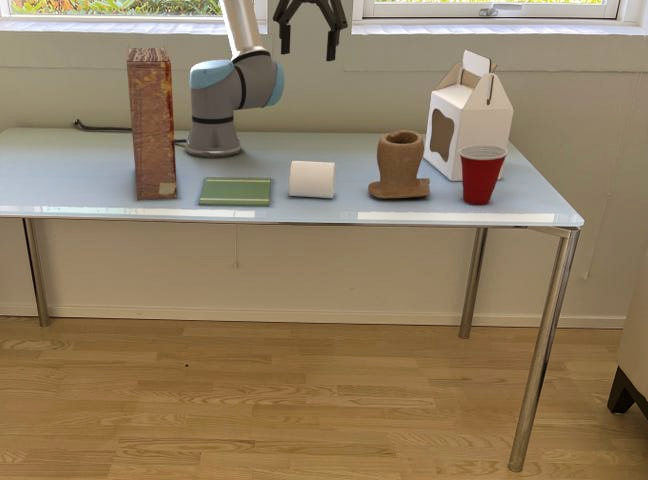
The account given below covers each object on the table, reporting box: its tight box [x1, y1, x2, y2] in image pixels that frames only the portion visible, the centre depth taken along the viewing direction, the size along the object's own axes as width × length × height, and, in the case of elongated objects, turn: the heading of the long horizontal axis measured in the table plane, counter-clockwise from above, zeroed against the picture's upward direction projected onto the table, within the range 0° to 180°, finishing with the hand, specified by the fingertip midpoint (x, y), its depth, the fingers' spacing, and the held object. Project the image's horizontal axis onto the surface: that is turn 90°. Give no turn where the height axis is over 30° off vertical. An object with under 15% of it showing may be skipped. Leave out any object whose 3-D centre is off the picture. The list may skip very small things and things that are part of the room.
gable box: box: [423, 49, 515, 182], centre depth 184 cm, size 22×13×28 cm, turn 7°
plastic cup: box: [458, 145, 509, 206], centre depth 165 cm, size 11×11×12 cm
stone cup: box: [367, 129, 431, 199], centre depth 167 cm, size 15×12×15 cm
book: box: [126, 44, 178, 201], centre depth 171 cm, size 25×9×30 cm, turn 9°
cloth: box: [198, 176, 272, 207], centre depth 173 cm, size 16×20×1 cm
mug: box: [288, 160, 337, 199], centre depth 170 cm, size 12×10×8 cm
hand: (307, 57), depth 177 cm, fingers open, 13 cm apart
